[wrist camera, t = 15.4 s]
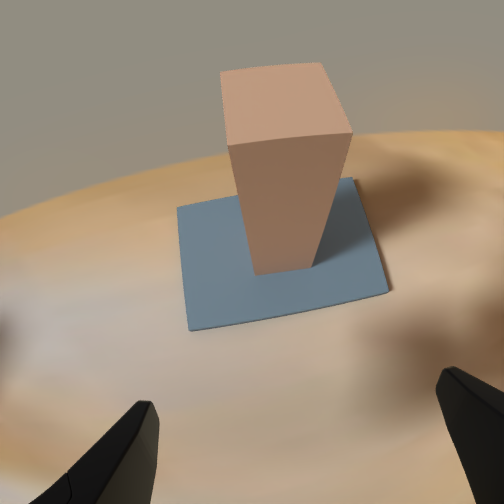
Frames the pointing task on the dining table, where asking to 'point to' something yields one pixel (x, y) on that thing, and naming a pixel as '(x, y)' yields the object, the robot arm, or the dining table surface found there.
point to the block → (284, 158)
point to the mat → (275, 284)
